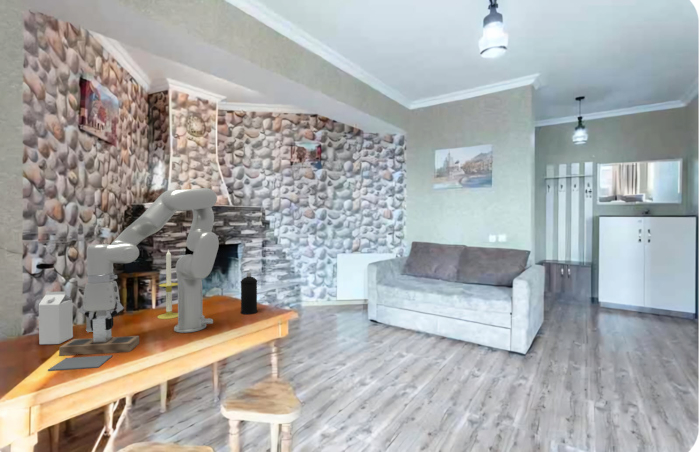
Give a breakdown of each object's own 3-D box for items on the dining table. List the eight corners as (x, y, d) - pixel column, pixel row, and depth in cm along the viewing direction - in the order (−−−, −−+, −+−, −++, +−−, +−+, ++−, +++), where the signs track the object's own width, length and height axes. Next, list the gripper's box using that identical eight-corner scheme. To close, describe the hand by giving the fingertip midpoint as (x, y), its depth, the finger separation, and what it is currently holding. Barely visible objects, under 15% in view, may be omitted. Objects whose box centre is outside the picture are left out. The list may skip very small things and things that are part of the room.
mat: (112, 356, 119) (112, 355, 119) (98, 367, 110) (98, 366, 110) (66, 359, 116) (66, 358, 116) (47, 370, 107) (47, 369, 107)
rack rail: (139, 343, 131) (139, 335, 131) (129, 351, 123) (129, 343, 123) (73, 347, 127) (73, 338, 127) (59, 355, 119) (59, 346, 119)
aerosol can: (254, 314, 170) (254, 274, 170) (238, 314, 170) (238, 273, 170) (259, 310, 179) (259, 271, 178) (243, 310, 179) (243, 271, 178)
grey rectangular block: (111, 339, 127) (110, 315, 127) (106, 343, 123) (105, 318, 123) (99, 340, 127) (98, 316, 126) (93, 344, 123) (92, 319, 122)
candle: (154, 319, 161) (153, 249, 160) (160, 313, 171) (160, 248, 170) (177, 318, 163) (177, 249, 162) (182, 312, 173) (182, 247, 172)
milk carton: (53, 338, 136) (52, 290, 136) (73, 337, 137) (72, 289, 136) (39, 344, 129) (38, 294, 128) (59, 344, 130) (58, 293, 129)
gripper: (130, 276, 129) (132, 324, 130) (80, 277, 126) (82, 327, 127) (121, 279, 122) (123, 331, 123) (67, 281, 119) (69, 334, 120)
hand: (102, 328), depth 125 cm, fingers closed on grey rectangular block, 4 cm apart
